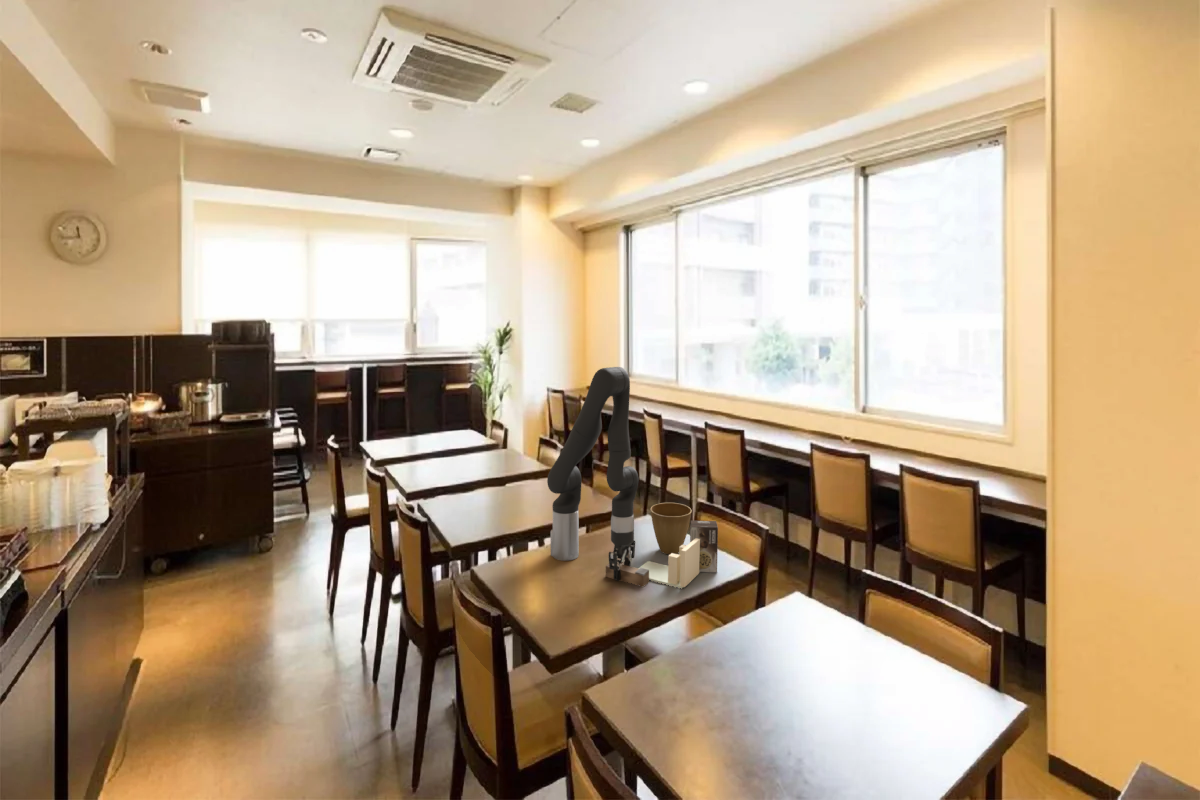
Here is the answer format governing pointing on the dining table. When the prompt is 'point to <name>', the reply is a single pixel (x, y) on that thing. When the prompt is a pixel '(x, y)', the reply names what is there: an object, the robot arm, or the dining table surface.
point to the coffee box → (706, 543)
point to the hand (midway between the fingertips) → (622, 576)
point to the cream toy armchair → (677, 566)
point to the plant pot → (670, 525)
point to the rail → (630, 574)
